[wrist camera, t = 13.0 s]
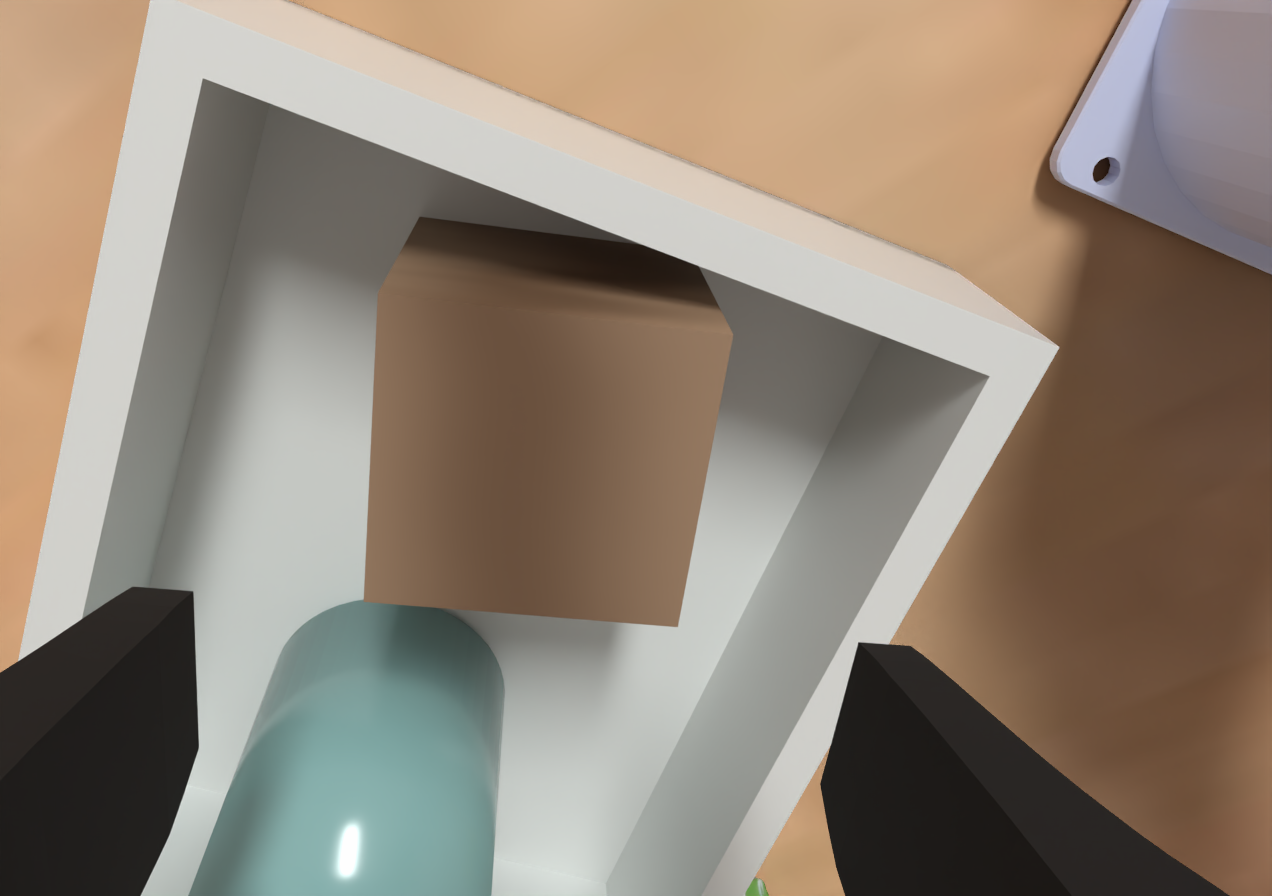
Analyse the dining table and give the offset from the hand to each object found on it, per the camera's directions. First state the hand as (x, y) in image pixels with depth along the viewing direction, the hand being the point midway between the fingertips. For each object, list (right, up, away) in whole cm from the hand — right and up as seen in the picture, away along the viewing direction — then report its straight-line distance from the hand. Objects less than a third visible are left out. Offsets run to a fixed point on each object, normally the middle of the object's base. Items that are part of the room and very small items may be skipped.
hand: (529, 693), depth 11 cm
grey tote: (-2, +1, +11) cm, 11 cm away
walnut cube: (-1, +4, +9) cm, 10 cm away
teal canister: (-4, -3, +12) cm, 13 cm away
